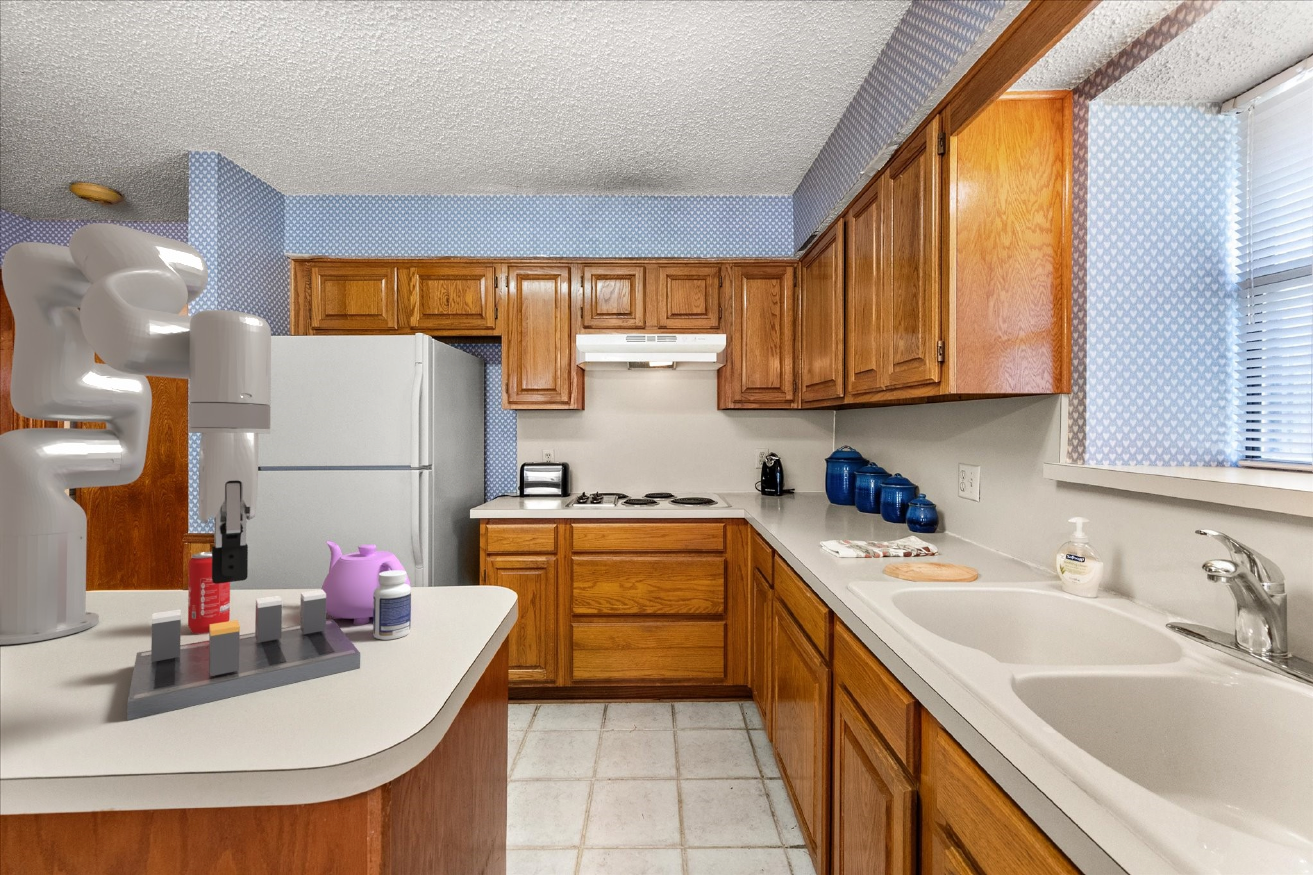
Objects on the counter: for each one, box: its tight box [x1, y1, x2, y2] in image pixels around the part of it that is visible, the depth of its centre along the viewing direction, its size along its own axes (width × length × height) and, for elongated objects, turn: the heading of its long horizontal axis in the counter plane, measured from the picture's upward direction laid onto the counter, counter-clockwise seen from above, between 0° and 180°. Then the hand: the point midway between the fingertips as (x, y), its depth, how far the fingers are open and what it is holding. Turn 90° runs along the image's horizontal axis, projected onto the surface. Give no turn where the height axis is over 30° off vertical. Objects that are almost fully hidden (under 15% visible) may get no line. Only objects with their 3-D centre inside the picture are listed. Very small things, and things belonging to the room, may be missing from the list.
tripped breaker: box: [208, 619, 241, 676], centre depth 70 cm, size 3×3×5 cm
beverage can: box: [187, 551, 231, 635], centre depth 91 cm, size 5×5×12 cm
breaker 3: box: [299, 589, 327, 634], centre depth 84 cm, size 3×3×5 cm
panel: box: [126, 618, 361, 721], centre depth 76 cm, size 18×23×2 cm
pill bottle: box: [372, 570, 412, 641], centre depth 90 cm, size 5×5×10 cm
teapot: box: [320, 540, 412, 626], centre depth 100 cm, size 20×14×12 cm
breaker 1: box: [150, 609, 182, 662], centre depth 74 cm, size 3×3×5 cm
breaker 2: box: [254, 595, 283, 643], centre depth 81 cm, size 3×3×5 cm
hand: (229, 580), depth 65 cm, fingers closed
